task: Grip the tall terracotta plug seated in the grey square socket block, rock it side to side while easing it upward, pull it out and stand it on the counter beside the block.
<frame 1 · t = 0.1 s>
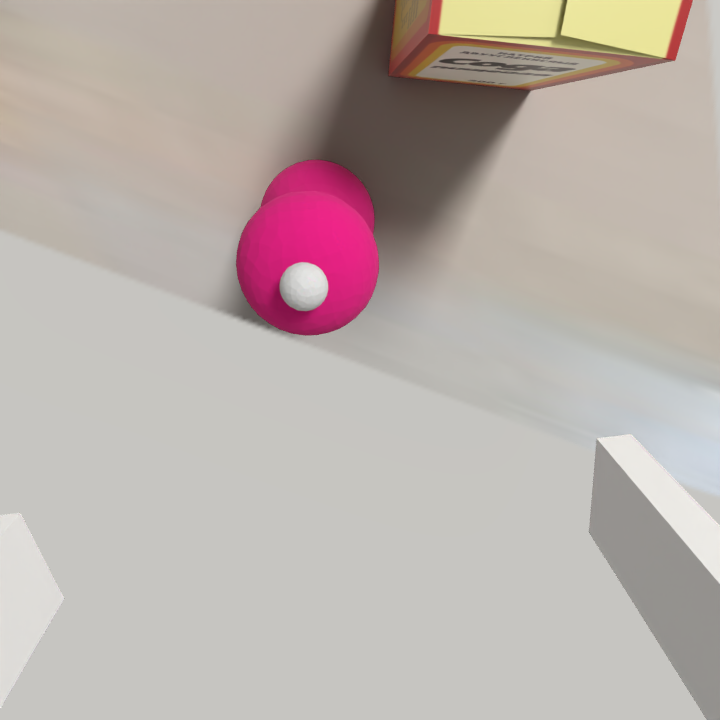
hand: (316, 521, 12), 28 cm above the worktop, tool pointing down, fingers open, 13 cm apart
pepper mill: (319, 211, 36), on the worktop
baking soda box: (468, 25, 32), on the worktop
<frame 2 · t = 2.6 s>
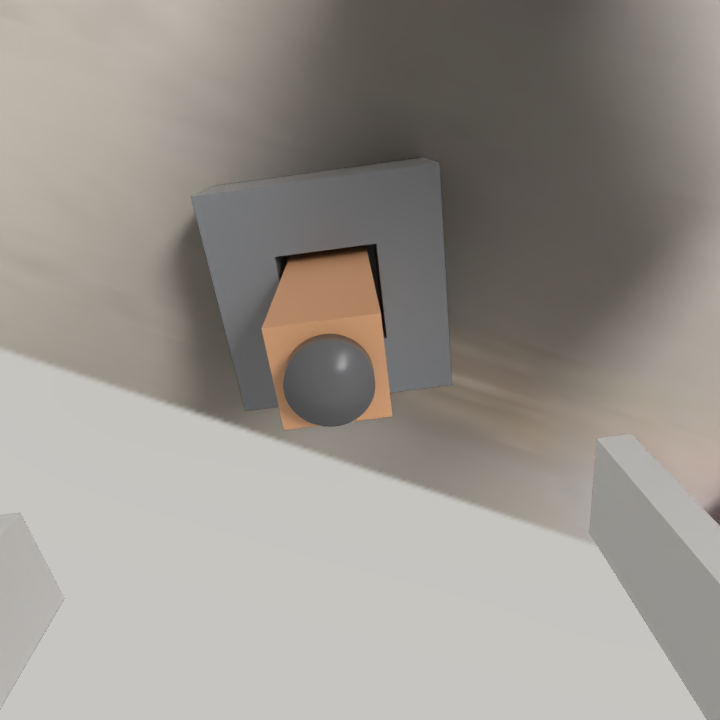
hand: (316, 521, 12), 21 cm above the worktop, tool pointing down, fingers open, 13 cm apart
grey square socket block: (333, 274, 31), on the worktop
plug: (333, 278, 30), point 1 cm above the worktop, touching grey square socket block
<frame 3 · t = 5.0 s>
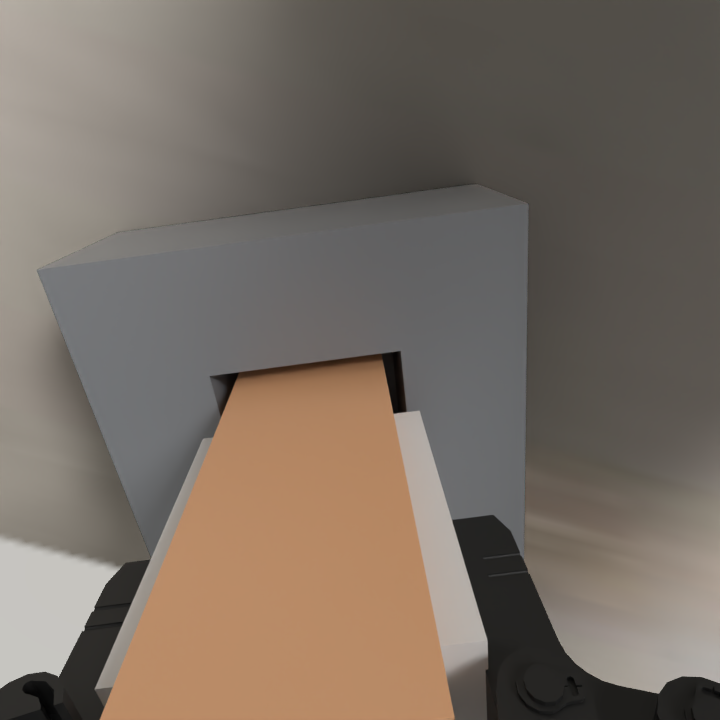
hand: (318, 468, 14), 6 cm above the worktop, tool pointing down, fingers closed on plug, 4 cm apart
grey square socket block: (323, 370, 19), on the worktop
plug: (323, 381, 18), point 1 cm above the worktop, touching gripper, grey square socket block
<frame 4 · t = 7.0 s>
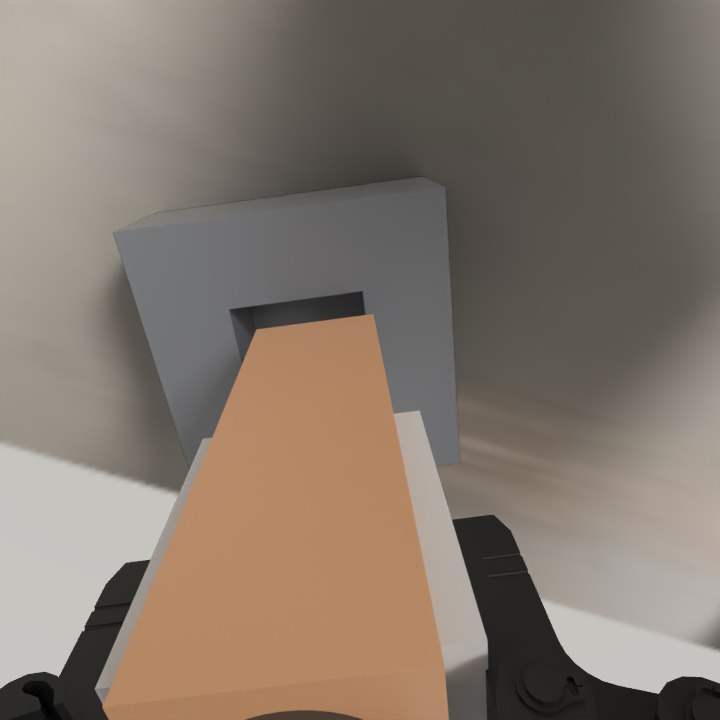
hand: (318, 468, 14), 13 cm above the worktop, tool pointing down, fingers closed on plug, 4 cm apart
grey square socket block: (311, 320, 25), on the worktop
plug: (323, 374, 19), point 7 cm above the worktop, touching gripper
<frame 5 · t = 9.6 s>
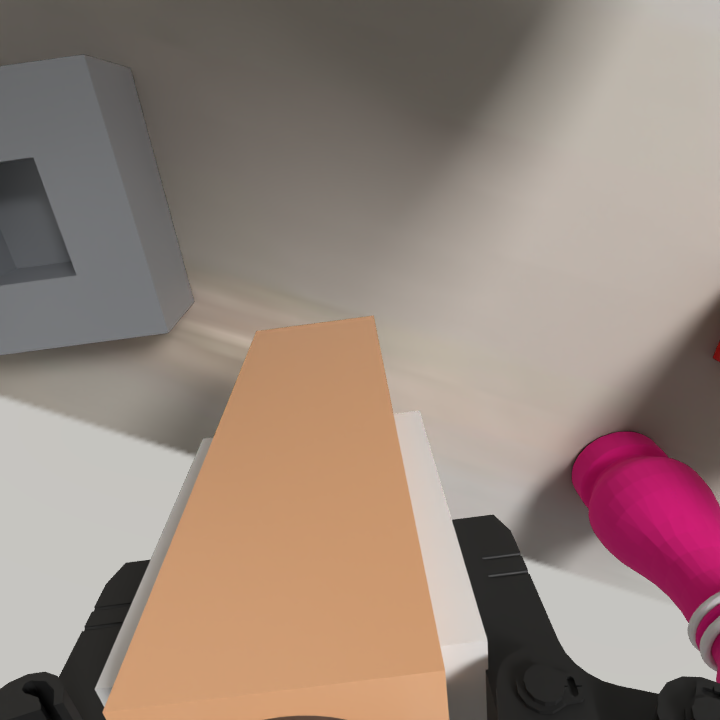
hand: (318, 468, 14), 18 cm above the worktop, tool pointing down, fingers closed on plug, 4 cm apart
grey square socket block: (55, 210, 27), on the worktop
plug: (323, 376, 19), point 12 cm above the worktop, touching gripper
pepper mill: (613, 465, 36), on the worktop
when the fingers open (7 cm above the worktop, at t = 12.0 s): plug stays where it is, on the worktop.
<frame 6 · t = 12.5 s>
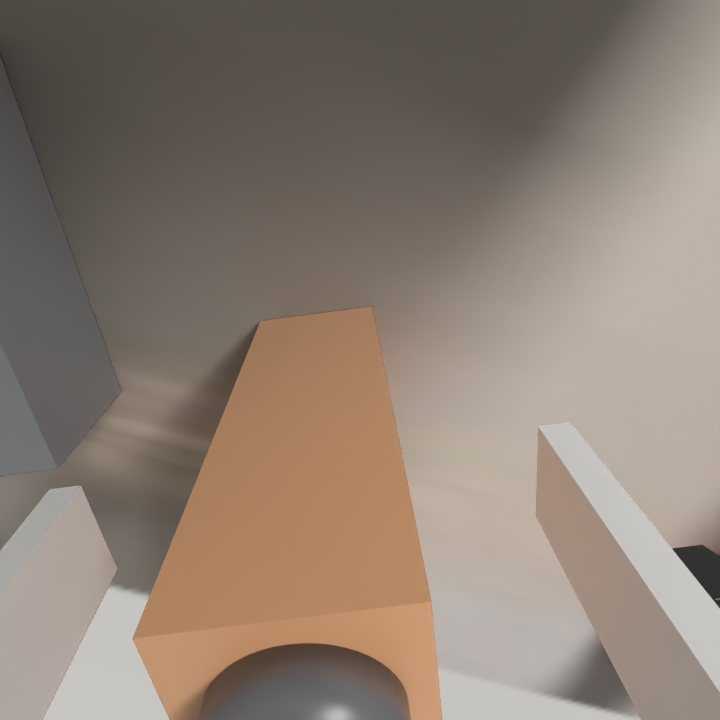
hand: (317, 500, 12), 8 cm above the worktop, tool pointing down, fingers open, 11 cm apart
plug: (324, 364, 20), on the worktop
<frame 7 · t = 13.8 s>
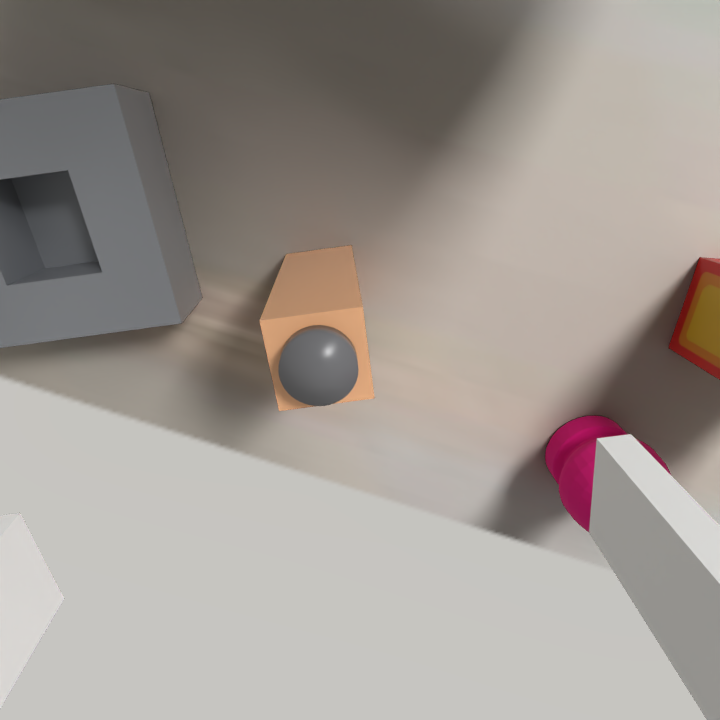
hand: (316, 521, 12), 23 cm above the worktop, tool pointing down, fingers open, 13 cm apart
grey square socket block: (80, 216, 31), on the worktop
plug: (323, 281, 33), on the worktop
pepper mill: (582, 447, 40), on the worktop
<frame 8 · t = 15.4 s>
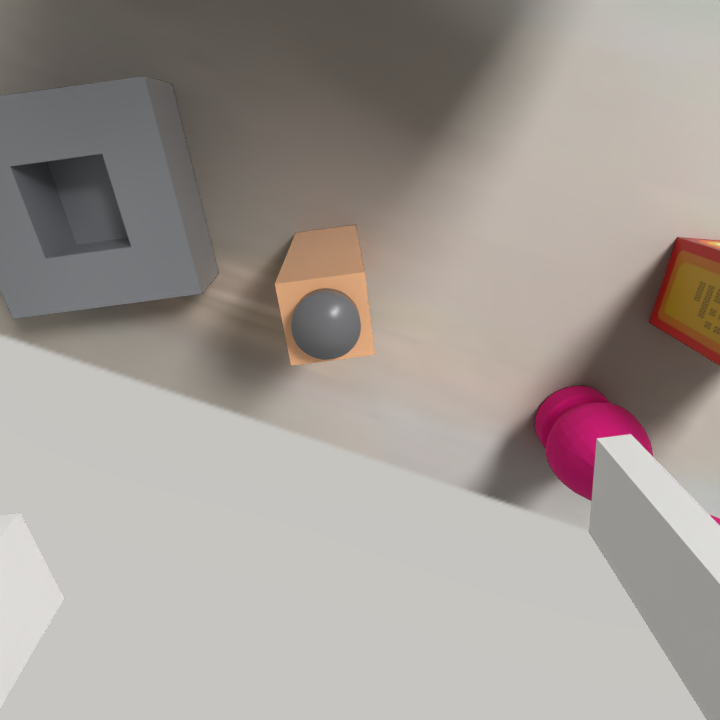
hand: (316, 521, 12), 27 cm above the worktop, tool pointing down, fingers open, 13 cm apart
grey square socket block: (108, 197, 34), on the worktop
plug: (330, 258, 36), on the worktop
pepper mill: (569, 416, 43), on the worktop
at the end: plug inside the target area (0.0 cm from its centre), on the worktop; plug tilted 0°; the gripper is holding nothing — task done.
